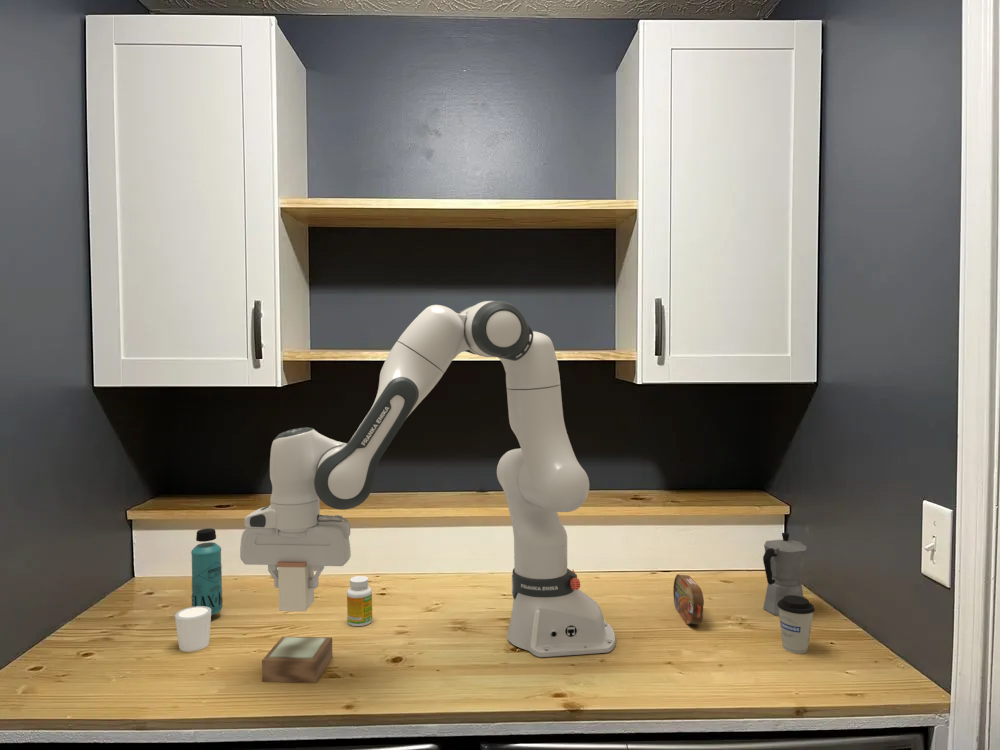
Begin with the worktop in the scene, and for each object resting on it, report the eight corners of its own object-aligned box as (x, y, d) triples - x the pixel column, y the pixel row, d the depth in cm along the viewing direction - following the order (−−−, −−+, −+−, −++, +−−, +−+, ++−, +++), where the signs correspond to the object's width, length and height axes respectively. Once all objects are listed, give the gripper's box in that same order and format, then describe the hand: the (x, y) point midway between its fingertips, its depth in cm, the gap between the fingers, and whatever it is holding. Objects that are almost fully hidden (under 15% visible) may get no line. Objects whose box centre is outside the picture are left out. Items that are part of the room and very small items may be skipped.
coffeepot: (779, 597, 165) (780, 523, 164) (818, 608, 158) (820, 531, 157) (744, 613, 155) (745, 535, 154) (784, 627, 148) (785, 544, 147)
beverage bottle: (185, 621, 152) (182, 533, 151) (205, 610, 159) (202, 525, 158) (211, 624, 151) (208, 534, 150) (229, 612, 157) (227, 526, 156)
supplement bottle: (366, 627, 149) (365, 583, 148) (343, 625, 150) (342, 582, 149) (376, 617, 154) (375, 575, 153) (353, 616, 155) (352, 573, 154)
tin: (672, 604, 161) (672, 568, 161) (685, 603, 161) (685, 568, 161) (691, 631, 146) (691, 592, 146) (705, 631, 146) (706, 592, 146)
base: (332, 657, 135) (332, 635, 135) (316, 682, 125) (315, 659, 125) (282, 656, 135) (282, 635, 135) (262, 681, 125) (261, 658, 125)
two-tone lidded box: (314, 601, 132) (314, 554, 131) (305, 611, 127) (305, 563, 126) (288, 600, 132) (287, 553, 132) (278, 611, 127) (277, 562, 126)
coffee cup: (795, 638, 142) (796, 591, 142) (822, 652, 136) (823, 603, 135) (768, 644, 140) (769, 596, 139) (794, 659, 133) (795, 608, 133)
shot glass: (219, 640, 143) (218, 607, 142) (196, 654, 136) (195, 620, 136) (192, 636, 145) (191, 604, 144) (168, 650, 138) (166, 616, 138)
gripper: (354, 511, 131) (355, 582, 132) (249, 509, 132) (251, 580, 133) (345, 519, 125) (346, 594, 126) (235, 518, 126) (237, 592, 127)
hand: (296, 587), depth 129 cm, fingers closed on two-tone lidded box, 5 cm apart
